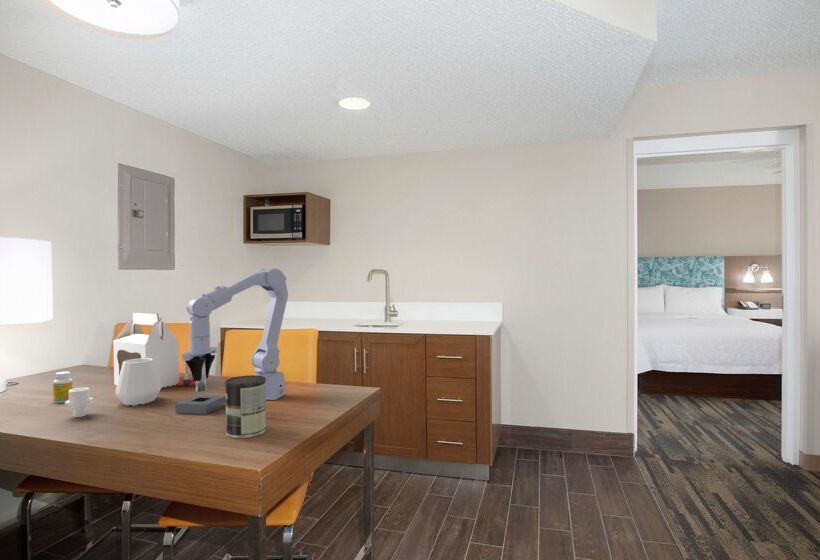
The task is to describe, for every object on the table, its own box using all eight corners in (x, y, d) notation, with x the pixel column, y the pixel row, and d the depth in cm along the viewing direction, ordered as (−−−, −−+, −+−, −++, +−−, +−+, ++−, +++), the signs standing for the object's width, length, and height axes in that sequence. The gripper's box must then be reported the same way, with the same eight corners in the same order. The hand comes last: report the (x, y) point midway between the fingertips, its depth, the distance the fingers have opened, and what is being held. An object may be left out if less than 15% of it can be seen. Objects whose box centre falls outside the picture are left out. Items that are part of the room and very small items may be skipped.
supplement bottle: (54, 404, 160) (53, 375, 159) (53, 400, 164) (52, 372, 164) (73, 401, 163) (73, 372, 163) (72, 398, 167) (71, 370, 167)
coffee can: (220, 439, 123) (219, 384, 122) (232, 426, 133) (231, 375, 133) (261, 437, 123) (260, 383, 123) (270, 425, 133) (269, 374, 133)
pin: (208, 389, 152) (207, 357, 152) (202, 391, 149) (201, 359, 149) (199, 389, 152) (199, 357, 152) (193, 391, 150) (192, 359, 149)
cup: (163, 395, 170) (162, 355, 170) (158, 404, 157) (157, 362, 157) (119, 399, 165) (119, 358, 165) (111, 409, 152) (110, 365, 152)
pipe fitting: (61, 419, 141) (61, 392, 141) (73, 413, 148) (73, 387, 148) (85, 418, 143) (85, 391, 143) (96, 411, 150) (95, 386, 150)
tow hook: (185, 382, 192) (174, 386, 183) (185, 350, 192) (175, 352, 183) (206, 382, 192) (197, 386, 183) (206, 349, 193) (197, 352, 183)
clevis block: (226, 405, 155) (225, 396, 155) (206, 414, 145) (205, 404, 145) (197, 404, 157) (196, 394, 157) (175, 413, 147) (175, 403, 147)
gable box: (180, 384, 187) (178, 312, 186) (146, 391, 175) (145, 315, 175) (147, 378, 198) (145, 311, 198) (113, 385, 187) (112, 313, 186)
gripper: (202, 333, 158) (203, 374, 159) (173, 339, 144) (173, 384, 144) (222, 333, 157) (222, 375, 157) (193, 339, 143) (194, 385, 143)
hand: (200, 379), depth 151 cm, fingers closed on pin, 3 cm apart
